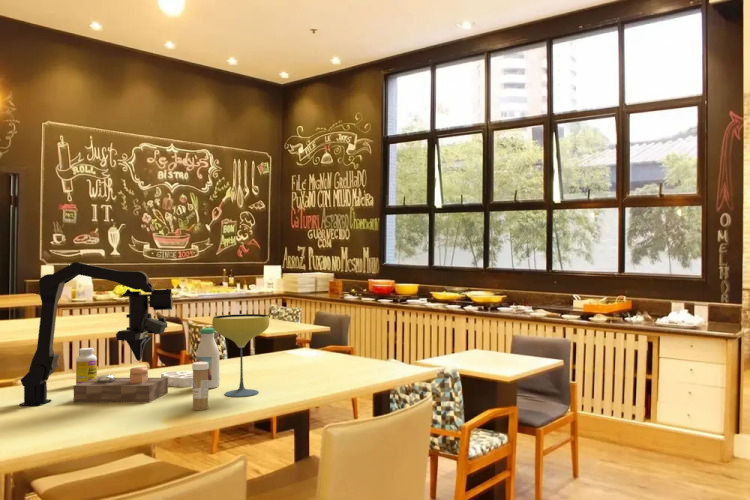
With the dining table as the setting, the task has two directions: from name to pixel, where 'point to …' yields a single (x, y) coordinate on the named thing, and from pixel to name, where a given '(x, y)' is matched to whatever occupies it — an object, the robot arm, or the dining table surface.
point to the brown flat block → (120, 390)
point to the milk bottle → (209, 356)
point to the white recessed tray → (179, 378)
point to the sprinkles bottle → (200, 385)
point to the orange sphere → (138, 375)
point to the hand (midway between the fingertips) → (138, 359)
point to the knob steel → (105, 379)
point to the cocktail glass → (240, 338)
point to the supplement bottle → (86, 365)
